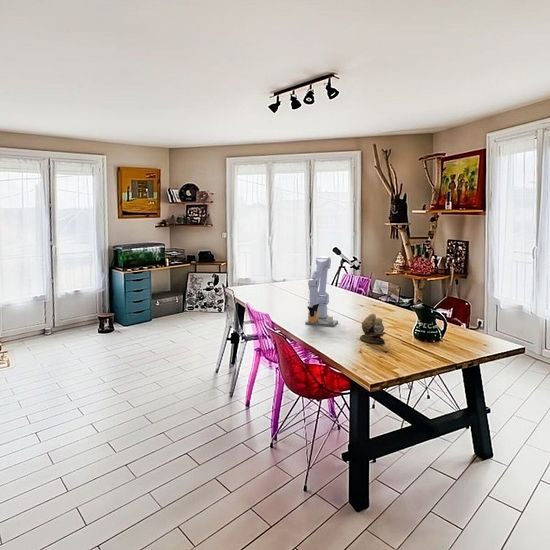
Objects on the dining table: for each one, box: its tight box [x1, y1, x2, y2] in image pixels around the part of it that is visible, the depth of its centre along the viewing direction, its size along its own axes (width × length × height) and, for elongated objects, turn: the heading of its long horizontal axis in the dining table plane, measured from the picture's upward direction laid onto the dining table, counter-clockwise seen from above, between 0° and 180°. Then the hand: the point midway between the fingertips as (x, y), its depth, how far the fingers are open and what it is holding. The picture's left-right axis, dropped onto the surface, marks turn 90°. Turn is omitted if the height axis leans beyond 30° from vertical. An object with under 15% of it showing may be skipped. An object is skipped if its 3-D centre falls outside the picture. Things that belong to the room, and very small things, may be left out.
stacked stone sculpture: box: [359, 313, 386, 345], centre depth 260 cm, size 18×12×17 cm, turn 34°
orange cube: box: [307, 311, 319, 322], centre depth 303 cm, size 6×6×6 cm
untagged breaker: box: [327, 315, 334, 323], centre depth 299 cm, size 3×3×4 cm
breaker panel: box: [305, 318, 339, 328], centre depth 301 cm, size 12×20×2 cm, turn 70°
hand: (313, 315), depth 303 cm, fingers open, 7 cm apart
